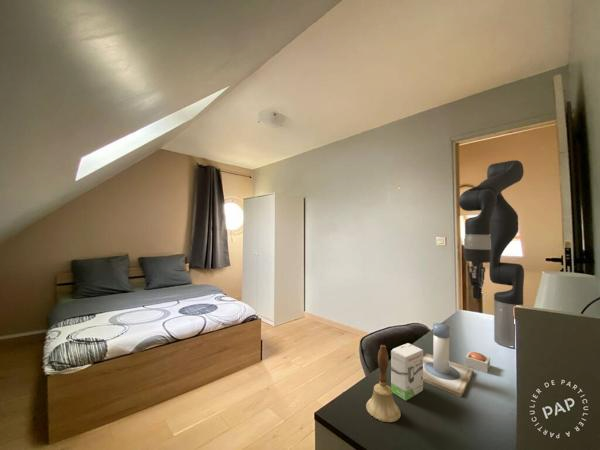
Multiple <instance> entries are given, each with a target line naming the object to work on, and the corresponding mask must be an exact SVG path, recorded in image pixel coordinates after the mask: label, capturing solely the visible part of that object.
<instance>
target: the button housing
mask: <svg viewBox="0 0 600 450" xmlns="http://www.w3.org/2000/svg"><path fill="white" fill-rule="evenodd" d="M471 352H472V351H471V350H468V352H467V354H465V357H464V359H465V361H464V363H465V364H464V366H465V367H468V368H471V369H473V370H477V371H479V372H483V373H485V374H488V372H489V371H490V367H491V356H487V355H484V356H485V362H483V361H480V360H477V359H473V358H471V357H470V353H471Z"/></svg>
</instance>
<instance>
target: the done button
mask: <svg viewBox="0 0 600 450" xmlns="http://www.w3.org/2000/svg"><path fill="white" fill-rule="evenodd" d="M485 356H486V355H484V354H483V353H481V352H476V351H475V352H474V351H471V353H470V357H471V358H473V359H477V360H480V361H483V362H485Z"/></svg>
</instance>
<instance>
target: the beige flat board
mask: <svg viewBox="0 0 600 450" xmlns="http://www.w3.org/2000/svg"><path fill="white" fill-rule="evenodd" d="M473 374H474V368H471V367H468V366H465V365H461V364H459V363H455V362H453V361H450V360H449V373H448V374H443V373H439V372H437V371H435V370H434V368H433V354H429V353H426V354H425V355H423V383H427V384H428V385H431V386H434V387H435V388H438V389H441V390H443V391H445V392H448V393H451V394H452V395H455V396H457V397H460V398H462V396H463V395H464V392H465V390H466V389H467V386H468V384H469V383H470V381H471V378H472V376H473Z"/></svg>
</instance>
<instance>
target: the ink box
mask: <svg viewBox="0 0 600 450" xmlns="http://www.w3.org/2000/svg"><path fill="white" fill-rule="evenodd" d="M390 357H391V359H390V362H391V363H390V365H391V367H390V377H391V378H390V381H391V382H390V388H391V389H392V394H394V395H396V396H398V397H399V398H401V399H402V400H404V401H406V402H407V401H408V400H410V399H412V398H413V397H415V396H416V395H418V394H419V393H421V392H422V391H424V381H423V357H424V350H423V349H422V348H419V347H418V346H416V345H413V344H411V343H409V342H407V343H405V344H402V345H399V346H397V347H394V348H392V350H390Z"/></svg>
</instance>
